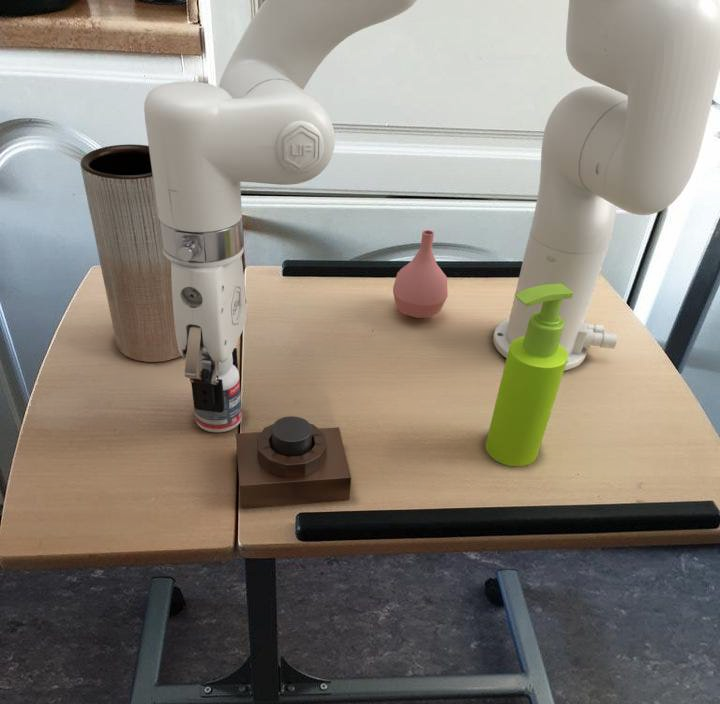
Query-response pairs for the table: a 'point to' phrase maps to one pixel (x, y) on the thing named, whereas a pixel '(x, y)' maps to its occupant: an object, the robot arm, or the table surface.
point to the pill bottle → (231, 400)
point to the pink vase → (421, 283)
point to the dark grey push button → (291, 436)
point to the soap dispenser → (529, 380)
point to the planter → (131, 250)
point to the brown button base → (292, 470)
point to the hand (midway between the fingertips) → (217, 391)
